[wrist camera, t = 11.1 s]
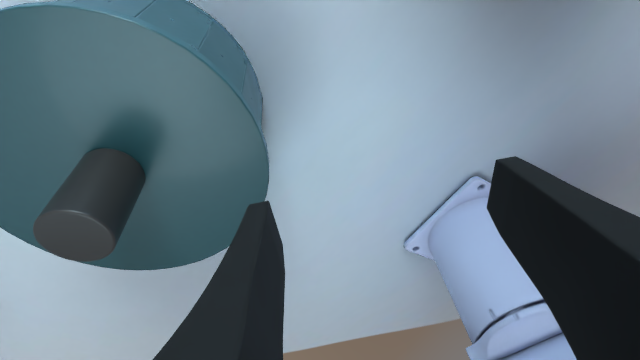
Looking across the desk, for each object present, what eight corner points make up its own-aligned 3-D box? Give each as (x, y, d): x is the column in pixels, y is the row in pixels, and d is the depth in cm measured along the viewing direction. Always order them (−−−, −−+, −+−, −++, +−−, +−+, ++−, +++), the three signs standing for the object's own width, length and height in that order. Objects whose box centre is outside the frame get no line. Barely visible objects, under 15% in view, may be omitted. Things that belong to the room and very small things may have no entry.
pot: (298, 63, 19) (306, 115, 14) (216, 207, 24) (203, 278, 20) (53, -75, 14) (-51, -64, 10) (20, 139, 20) (-57, 211, 15)
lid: (321, 104, 15) (337, 171, 11) (209, 277, 21) (195, 359, 17) (-59, -95, 10) (-258, -93, 6) (-62, 206, 16) (-163, 298, 12)
